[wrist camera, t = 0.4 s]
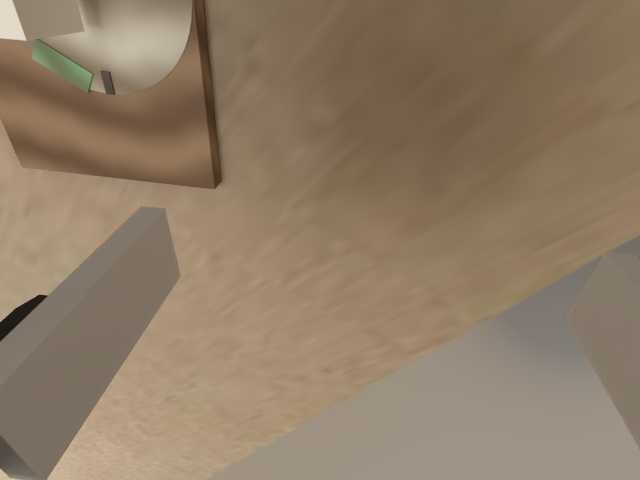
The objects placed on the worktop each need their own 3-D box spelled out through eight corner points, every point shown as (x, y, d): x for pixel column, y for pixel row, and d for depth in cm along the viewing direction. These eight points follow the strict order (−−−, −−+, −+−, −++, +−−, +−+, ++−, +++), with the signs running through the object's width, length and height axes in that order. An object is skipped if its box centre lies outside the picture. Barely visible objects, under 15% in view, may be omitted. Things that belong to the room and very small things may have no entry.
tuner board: (-133, -253, 25) (-176, -273, 23) (178, -239, 24) (161, -260, 22) (35, 160, 42) (18, 168, 40) (221, 181, 41) (213, 190, 39)
